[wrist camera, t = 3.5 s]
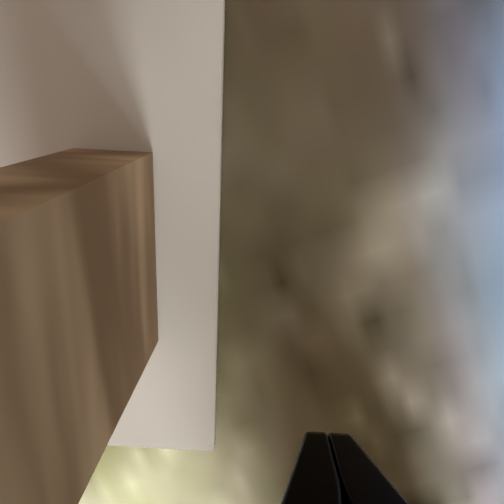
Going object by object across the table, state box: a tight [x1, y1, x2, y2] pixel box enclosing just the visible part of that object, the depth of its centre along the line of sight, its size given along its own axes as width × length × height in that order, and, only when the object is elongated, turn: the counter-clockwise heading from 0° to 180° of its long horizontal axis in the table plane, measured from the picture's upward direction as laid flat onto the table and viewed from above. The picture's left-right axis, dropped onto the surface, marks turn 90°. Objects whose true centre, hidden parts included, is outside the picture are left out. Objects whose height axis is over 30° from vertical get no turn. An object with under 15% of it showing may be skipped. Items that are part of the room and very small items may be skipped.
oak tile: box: [0, 148, 158, 504], centre depth 12 cm, size 3×8×12 cm, turn 177°
